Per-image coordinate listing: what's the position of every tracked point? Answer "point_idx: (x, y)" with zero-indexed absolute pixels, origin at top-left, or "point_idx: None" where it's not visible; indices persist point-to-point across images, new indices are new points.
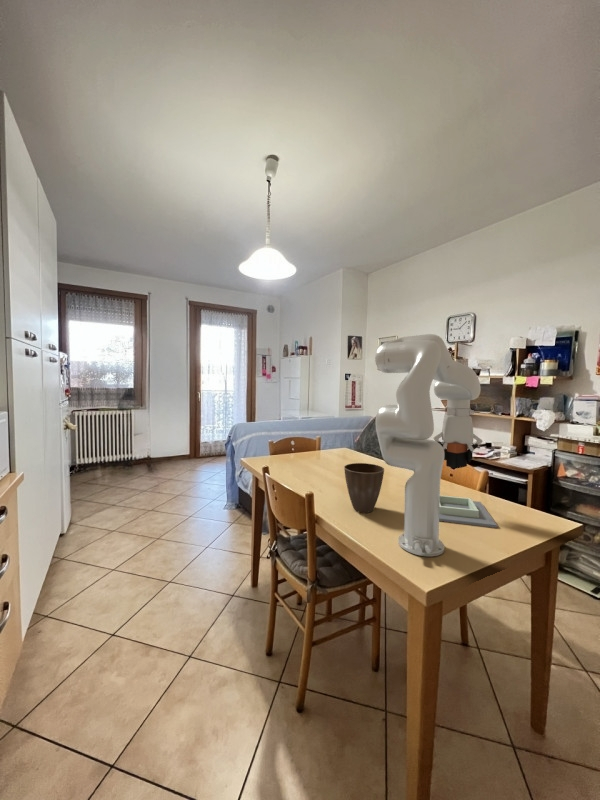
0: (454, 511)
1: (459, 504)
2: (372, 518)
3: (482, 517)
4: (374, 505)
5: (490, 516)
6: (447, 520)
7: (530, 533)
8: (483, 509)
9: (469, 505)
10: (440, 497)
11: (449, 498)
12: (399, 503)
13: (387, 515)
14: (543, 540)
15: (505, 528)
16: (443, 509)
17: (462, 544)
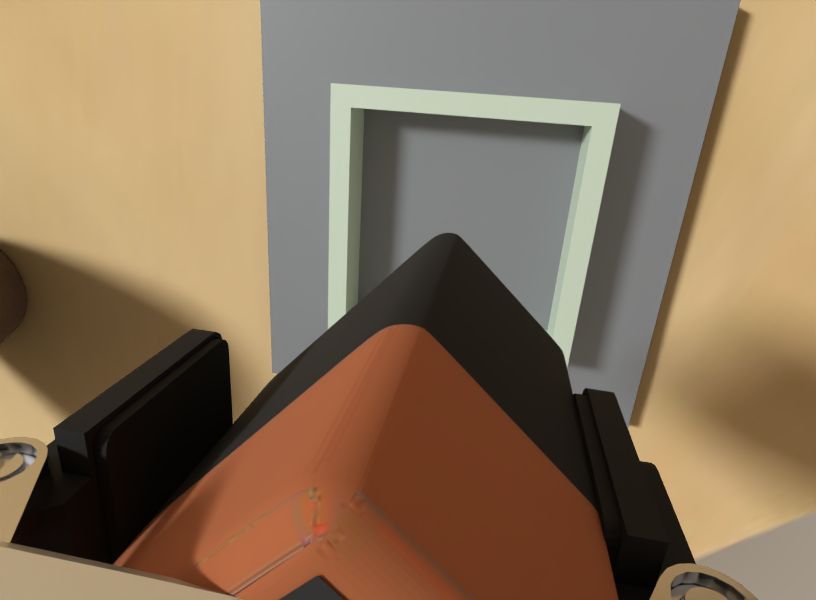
0: None
1: (520, 122)
2: (50, 385)
3: (591, 336)
4: (6, 329)
5: (654, 314)
6: None
7: (783, 456)
8: (670, 193)
9: (577, 176)
10: (377, 108)
11: (444, 114)
12: (133, 147)
13: (102, 342)
14: (795, 517)
15: (673, 415)
16: None
17: None
